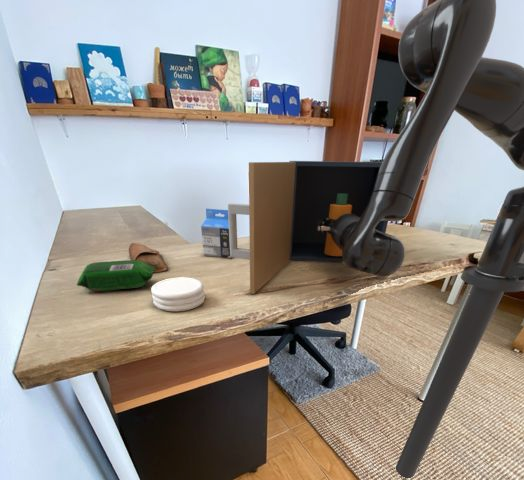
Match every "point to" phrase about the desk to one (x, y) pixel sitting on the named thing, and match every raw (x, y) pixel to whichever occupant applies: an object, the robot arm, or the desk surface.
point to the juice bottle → (336, 212)
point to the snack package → (115, 275)
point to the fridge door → (265, 220)
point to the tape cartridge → (216, 234)
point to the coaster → (178, 294)
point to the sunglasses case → (147, 256)
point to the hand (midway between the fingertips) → (336, 221)
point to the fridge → (326, 202)
